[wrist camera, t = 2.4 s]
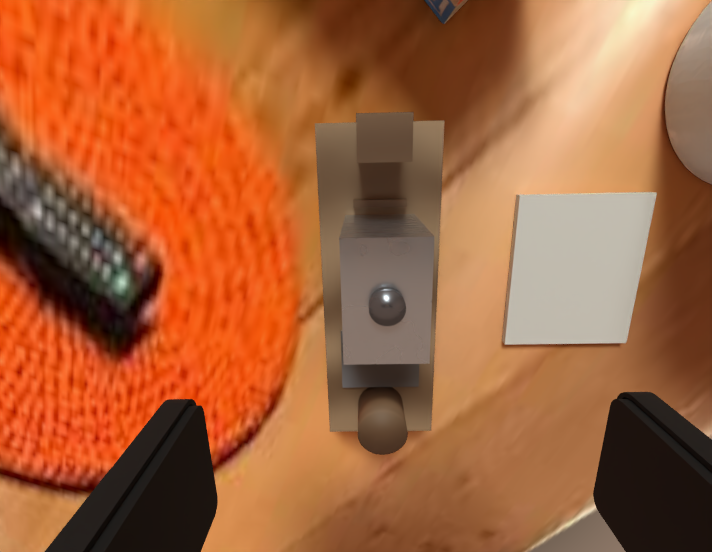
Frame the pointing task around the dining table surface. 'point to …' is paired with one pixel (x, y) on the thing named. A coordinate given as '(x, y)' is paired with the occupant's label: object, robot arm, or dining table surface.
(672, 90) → the utensil holder
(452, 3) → the stack of blocks
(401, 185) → the plane body
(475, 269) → the dining table surface
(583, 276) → the pad
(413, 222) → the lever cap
